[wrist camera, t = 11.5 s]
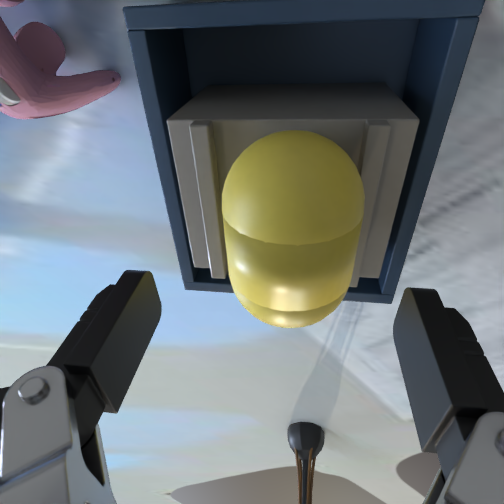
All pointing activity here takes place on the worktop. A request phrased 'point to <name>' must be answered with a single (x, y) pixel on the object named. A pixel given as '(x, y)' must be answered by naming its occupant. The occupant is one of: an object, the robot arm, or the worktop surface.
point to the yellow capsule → (292, 227)
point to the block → (283, 119)
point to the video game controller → (43, 74)
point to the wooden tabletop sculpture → (305, 455)
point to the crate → (305, 72)
